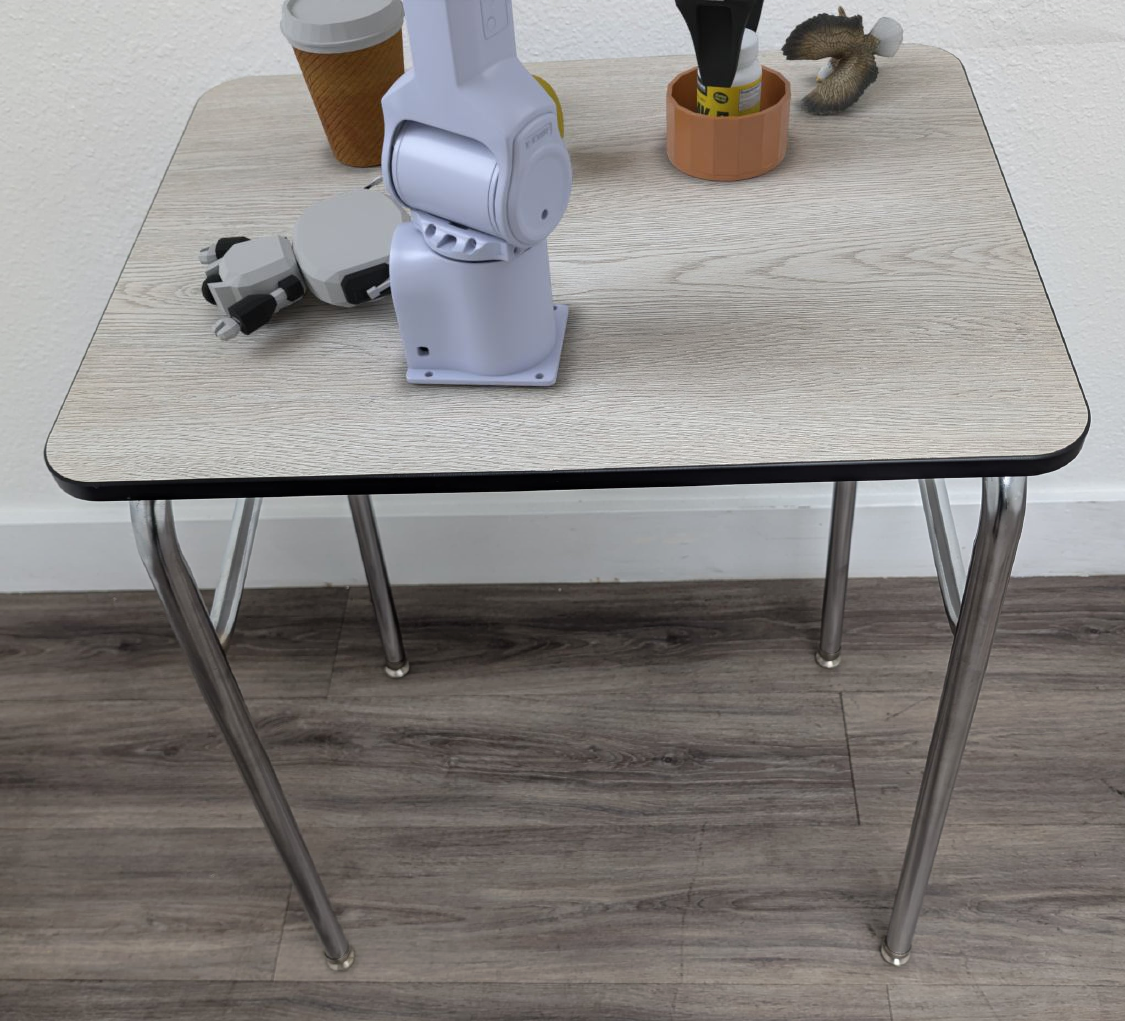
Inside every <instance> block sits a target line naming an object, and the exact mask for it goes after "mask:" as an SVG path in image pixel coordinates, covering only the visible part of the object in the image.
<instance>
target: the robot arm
mask: <svg viewBox="0 0 1125 1021" xmlns="http://www.w3.org/2000/svg"><path fill="white" fill-rule="evenodd" d="M402 2H403V6H404V12H405V16H404V18H405V24H406V29H407V36H408V43H409V48H410V55H411V62H412V66H411V67H410V68H409V69H408V70H406V72H405V73H404V74H403V75H402V76H401V77H400V78H399V79H398V80H397V81H396V82H395V83H394V84H393V85H392V86H391V88H390V89H389V90H388V91H387V93H386V94H385V95H384V96H383V98H382V100H381V103H382V109H383V114H384V122H385V136H384V143H383V150H382V162H381V164H380V165H381V176H383V183H384V187H385V189H386V192H387V193H388V195H389V196H390V197H391V198H392V199H393V200H394V201H395V202H396V203H398V204H399V205H401V206H402V207H403V208H404V209H409V211H410V217H411V221H408V222H403V223H400V224H399V225H398V226H397V227H396V229H395V231H394V234H393V238H392V242H391V248H390V259H389V271H390V286H391V293H392V294H391V298H392V303H393V308H394V311H395V316H396V320H397V324H398V329H399V334H400V338H401V343H402V347H403V351H404V356H405V361H406V364H407V371H406V373H405V379H406V381H407V382H408V383H409V384H414V385H415V384H417V385H418V384H419V385H420V384H421V385H471V386H472V385H473V386H526V387H527V386H528V387H551V386H553V385H554V384H555V383H556V382H557V377H558V371H559V367H560V362H561V361H560V360H561V355H562V350H563V344H564V340H565V334H566V328H567V323H568V318H569V313H570V312H569V306H568V305H566V304H565V303H554V299H553V288H552V287H553V286H552V278H551V268H550V257H549V256H550V255H549V248H548V246H549V245H548V237H549V236H550V235H551V234H552V232H554V231H555V229H556V228H557V227H558V225H559V224H560V222H561V221H562V219H563V217H564V215H565V212H566V211H567V208H568V205H569V202H570V199H571V194H572V189H573V188H572V187H573V168H572V162H571V156H570V153H569V150H568V147H567V146H566V144H565V142H564V139H563V140H562V138H561V136H560V133H559V129H558V122H557V110H556V104H555V102H554V101H553V99H552V98H551V97H550V96H549V95H548V93H547V92H546V91H545V90H544V89H543V87H542V86H541V85H540V84H539V83H538V82H537V81H536V79H535V78H534V77H533V76H532V75H533V74H532V75H531V73H530V71H529V70H528V69H527V68H526V67H525V66H524V65H523V63H522V62H521V60H520V59H519V57H518V54H517V44H516V34H515V23H514V14H513V13H514V12H513V2H512V0H402ZM764 2H765V0H674V3H675V6H676V8H677V9H678V11H679V13H680V14H681V16H682V18H683V20H684V22H685V24H686V27H687V29H688V32H689V34H690V38H691V40H692V45H693V48H694V53H695V58H696V63H697V66H698V68H699V73H700V77H701V81H702V84H703V86H708V87H721V88H731V86H732V83H733V81H734V78H735V75H736V71H737V67H738V62H739V56H740V50H741V45H742V40H743V35H744V31H745V28H747V29H750V30H752V31H754V32H755V33H756V34H757V31H758V28H759V24H760V21H761V16H762V11H763V8H764Z"/></svg>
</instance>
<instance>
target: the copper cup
mask: <svg viewBox="0 0 1125 1021" xmlns="http://www.w3.org/2000/svg"><path fill="white" fill-rule="evenodd" d="M761 67H762V79H761V95H760V112H757V113H753V114H748V115H743V116H730V117H715V116H709V115H704V114H699V113H697V74H698V65H697V66H693V67H691V68H689V69H687V70H684V71H682V72H681V73H678V74H677V75H675V77H674V78H673V79H671V81H670V82H669V83H668V84H667V86H666V96H665V99H666V100H665V109H666V111H665V112H666V113H665V114H666V115H665V116H666V127H665V128H666V154H667V157H668V160H669V162H670V164H672V165H673V166H674V167H675V168H676V169H677V170H678V171H680V172H682V173H684V174H686V175H688V176H691V177H693V178H697V179H701V180H707V181H713V182H714V181H715V182H733V181H742V180H748V179H752V178H755V177H758V176H762V175H765V174H766V173H769V172H770V171H772V170H774V169H776V167H778V166H779V164H781V162H782V161H783V160H784V158H785V156H786V152H787V148H788V135H789V122H790V110H791V99H792V98H791V97H792V89H791V87H792V86H791V82H790V81H789V80H788V78H786V76H784V74H782V72H780V71H778V70H775V69H773V68H770V67H769V66H767V65H764V64H761Z"/></svg>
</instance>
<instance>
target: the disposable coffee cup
mask: <svg viewBox="0 0 1125 1021" xmlns="http://www.w3.org/2000/svg"><path fill="white" fill-rule="evenodd" d="M404 18H405V12H404V6H403V0H284V1H283V3H282V7H281V20H280V21H279V30H280V32H281V34H282V36H283V37H284V38H285V39H286V41H287V43H288V44H289V45H291V48H292V50H293V53H294V55H295V59H296V61H297V63H298V66H299V69H300V71H301V73H302V76H303V80H304V82H305V84H306V87H307V90H308V92H309V95H310V97H311V100H312V103H313V105H314V108H315V109H316V110H315V111H316V112H317V115H318V118H319V120H320V124H321V126H322V128H323V131H324V133H325V136H326V138H327V141H328V144H329V147H330V149H331V152H332V155H333V158H334V159H335V160H336V161H337V162H339V163H340V164H344V165H346V166H351V167H361V168H362V167H373V166H379V165H381V162H382V150H383V143H384V136H385V122H384V114H383V109H382V103H381V100H382V98H383V96H384V95H385V94H386V93H387V91H388V90H389V89H390V88H391V86H392V85H393V84H394V83H395V82H396V81H397V80H398V79H399V78H400V77H401V76H402V75H403V74H404V73H406V72H405V56H404V42H403V41H404V39H403V26H404V22H405V20H404Z"/></svg>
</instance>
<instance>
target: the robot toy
mask: <svg viewBox="0 0 1125 1021" xmlns="http://www.w3.org/2000/svg"><path fill="white" fill-rule="evenodd" d="M382 183H384V180H383V176H382V175H378V176H377V177H375V178H373V179H372V181H370V182H368V183H367V184H365V185H364V186H362V187H360V188H356V189H353V190H350V191H347V192H344V193H340V194H338V195H334V196H330V197H327V198H324V199H321V200H317V201H315V202H312V203H311V204H310V205H309V206H308V207H306V209H305V210H304V211H303V212H302V213H301V214H300V215H299V217H298V219H297V221H295V223H294V226H293V228H292V234H291V241H290V239H288V237H287V236H281V235H279V234H275V235H274V234H273V235H269V236H262V237H258V238H253V239H251V238H248V237H246V236H244V235H242V236H240V235H239V236H227V237H220V238H219V239H218V240H217V241H216V243H214V242H212V243H207V244H204V245H203V246H202V247H201V248H200V250H199V252H198V253H197V259H198V261H199V262H200V263H201V264H202V265H207V267H206V269H205V271H204V273H205V276H206V278H205V279H204V280H203V281H202V285H201V288H200V289H201V290H200V291H201V293H202V297H203V298H204V300H205V301H206V302H207V303H209V304H210V305H212V306H217V307H218V310H219V312H221V313H222V314H223V315H225V316H229V317H224V318H223V317H222V318H219V319H218V320H217V321H215V323H213V324H212V326H211V331H212V334H213V335H214V336H215V337H218V339H219V340H220V341H225V342H227V341H230V340H232V339H235V338H237V336H238V334H239V333H240V332H241V333H242V334H244V335H246V336H249V335H251V334H253V333H254V332H256V331H258V330H259V329H261V328H262V327H263V326H265V325H266V324H268V323H270V321H271V319H272V317H273V316H274V315H275V314H277V313H278V312H280V310H281V309H283V308H286V307H288V306H290V305H292V304H295V303H297V302H298V301H300V300H302V299H303V296H305V295H306V291H307V288H308V289H309V291H310V292H311V293H312V295H314V296H315V297H316V298H317V299H319V301H322V302H324V303H327V304H330V305H333V306H339V307H345V308H353V307H357V306H359V305H362V304H366V303H373V302H378V301H380V300H383V299H384V298H386V297H388V296H390V295H392V293H391V286H390V271H389V259H390V248H391V242H392V238H393V234H394V231H395V229H396V227H397V226H398V225H399V224H400V223H403V222H408V221H412V216H411V214H409V213H408V211H407V210H406V208H405V207H403V206H401V205H399V204H398V203H396V202H395V201H394V200H393V199H392V198H391V196H390V195H389V194H387V193H384V192H381V191H379V190H375V189H371V188H373V187H375V186H379V185H380V184H382ZM306 286H307V287H306Z"/></svg>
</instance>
